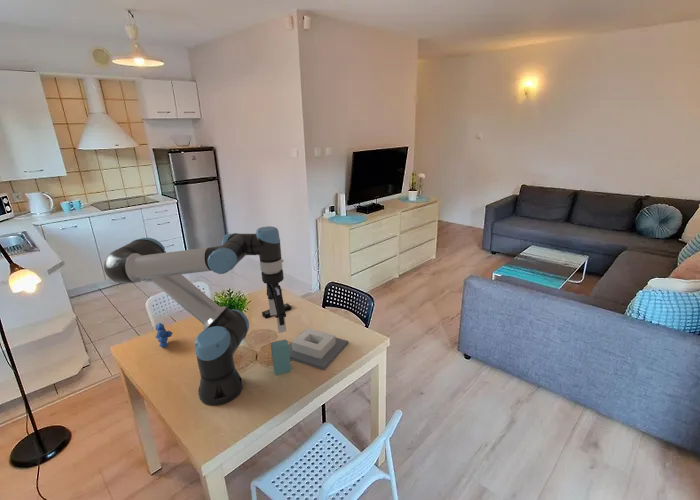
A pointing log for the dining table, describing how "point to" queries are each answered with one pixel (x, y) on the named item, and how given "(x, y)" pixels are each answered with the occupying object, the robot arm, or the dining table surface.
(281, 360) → the teal peg
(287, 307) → the multiport hub
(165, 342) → the grapes
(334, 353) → the socket block
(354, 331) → the dining table surface
